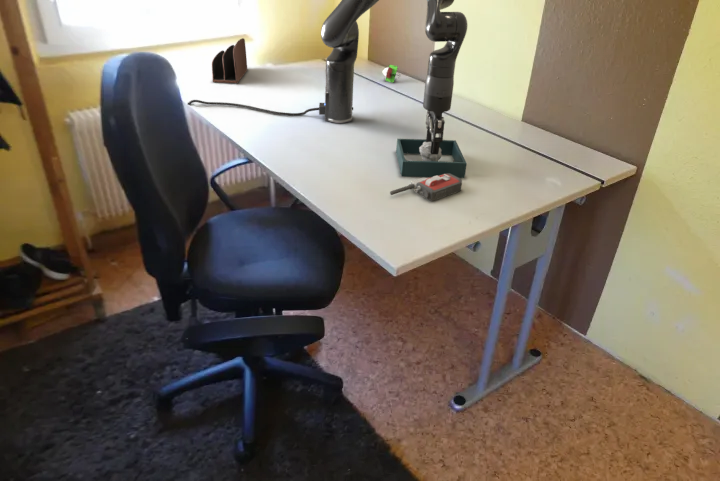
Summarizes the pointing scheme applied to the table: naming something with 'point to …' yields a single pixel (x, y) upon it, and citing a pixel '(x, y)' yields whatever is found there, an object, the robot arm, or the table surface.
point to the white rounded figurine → (426, 152)
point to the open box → (430, 167)
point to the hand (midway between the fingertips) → (431, 147)
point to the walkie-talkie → (434, 186)
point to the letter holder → (230, 64)
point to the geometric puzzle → (390, 73)
